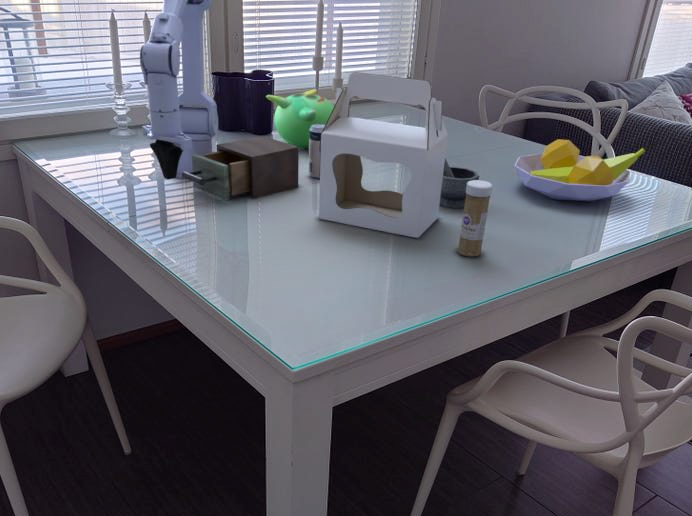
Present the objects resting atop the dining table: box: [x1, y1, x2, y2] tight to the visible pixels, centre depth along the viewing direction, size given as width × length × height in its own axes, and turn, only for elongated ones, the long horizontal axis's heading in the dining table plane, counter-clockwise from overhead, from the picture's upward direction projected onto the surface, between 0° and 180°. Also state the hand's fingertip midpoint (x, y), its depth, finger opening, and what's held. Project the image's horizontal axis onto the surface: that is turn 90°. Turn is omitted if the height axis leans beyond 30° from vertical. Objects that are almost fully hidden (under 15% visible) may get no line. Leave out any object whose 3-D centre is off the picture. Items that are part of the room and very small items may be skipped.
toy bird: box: [265, 89, 339, 149], centre depth 188 cm, size 18×17×15 cm
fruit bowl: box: [514, 138, 646, 202], centre depth 163 cm, size 28×27×11 cm
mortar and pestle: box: [439, 157, 480, 209], centre depth 153 cm, size 11×9×12 cm
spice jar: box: [308, 124, 325, 180], centre depth 166 cm, size 5×5×12 cm
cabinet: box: [215, 135, 300, 199], centre depth 159 cm, size 14×13×9 cm
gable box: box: [318, 71, 449, 239], centre depth 138 cm, size 22×13×28 cm, turn 66°
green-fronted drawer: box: [182, 150, 251, 201], centre depth 152 cm, size 17×11×7 cm, turn 135°
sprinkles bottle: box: [456, 179, 493, 258], centre depth 128 cm, size 5×5×14 cm
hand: (170, 178), depth 143 cm, fingers closed
